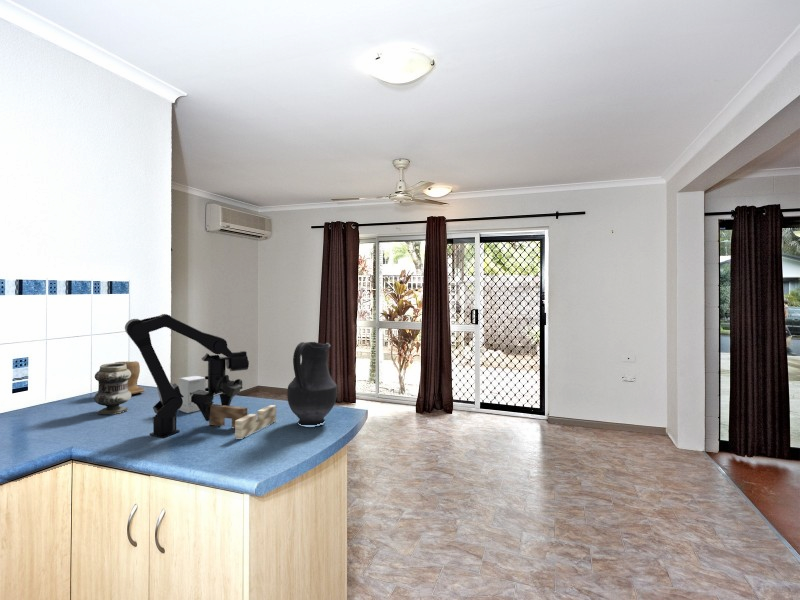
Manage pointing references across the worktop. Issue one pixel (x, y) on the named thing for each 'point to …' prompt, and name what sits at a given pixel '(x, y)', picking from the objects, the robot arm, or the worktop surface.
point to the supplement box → (190, 391)
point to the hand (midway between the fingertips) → (216, 417)
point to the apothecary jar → (112, 387)
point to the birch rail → (255, 421)
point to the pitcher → (311, 384)
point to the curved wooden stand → (133, 376)
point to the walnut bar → (225, 414)
